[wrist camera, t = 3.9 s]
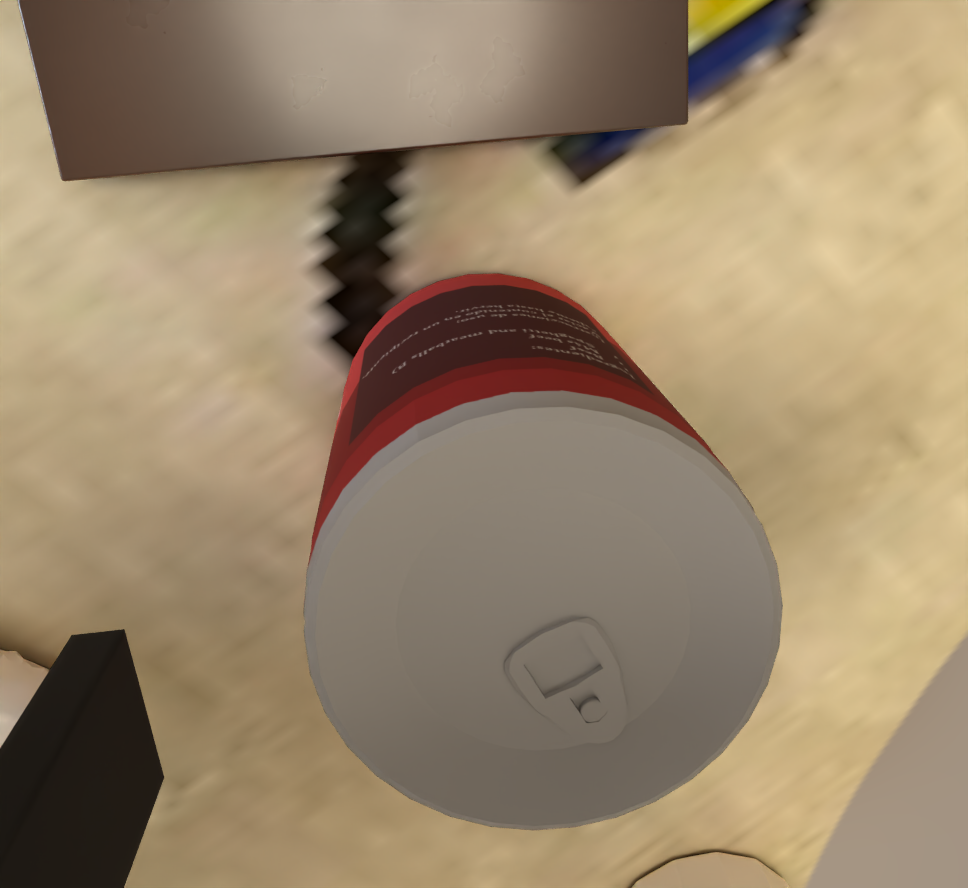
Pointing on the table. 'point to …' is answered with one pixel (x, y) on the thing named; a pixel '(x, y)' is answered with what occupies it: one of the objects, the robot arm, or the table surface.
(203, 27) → the brown metal board
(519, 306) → the canned food
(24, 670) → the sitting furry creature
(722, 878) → the white cup
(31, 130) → the table surface
